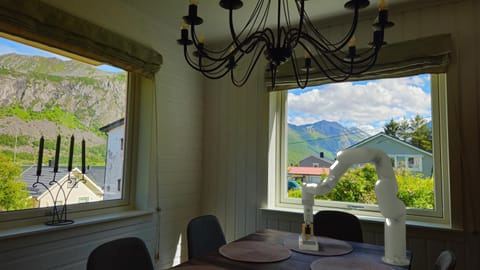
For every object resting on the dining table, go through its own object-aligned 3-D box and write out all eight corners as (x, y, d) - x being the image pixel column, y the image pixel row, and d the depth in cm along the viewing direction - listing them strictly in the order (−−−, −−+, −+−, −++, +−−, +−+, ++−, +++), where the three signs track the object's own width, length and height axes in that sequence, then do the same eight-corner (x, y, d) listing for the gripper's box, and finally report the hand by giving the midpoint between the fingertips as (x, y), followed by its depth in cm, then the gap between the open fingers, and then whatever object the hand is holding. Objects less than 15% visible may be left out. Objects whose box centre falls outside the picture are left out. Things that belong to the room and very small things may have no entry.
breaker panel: (318, 250, 173) (318, 241, 173) (299, 249, 175) (299, 240, 175) (315, 241, 193) (315, 233, 193) (298, 240, 194) (299, 232, 195)
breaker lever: (313, 239, 186) (313, 225, 187) (302, 238, 187) (302, 224, 188) (312, 238, 188) (312, 224, 189) (302, 237, 189) (302, 223, 190)
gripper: (315, 204, 181) (315, 237, 179) (313, 201, 197) (313, 231, 195) (302, 204, 182) (301, 236, 181) (301, 200, 198) (301, 230, 196)
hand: (307, 233), depth 188 cm, fingers closed on breaker lever, 2 cm apart
